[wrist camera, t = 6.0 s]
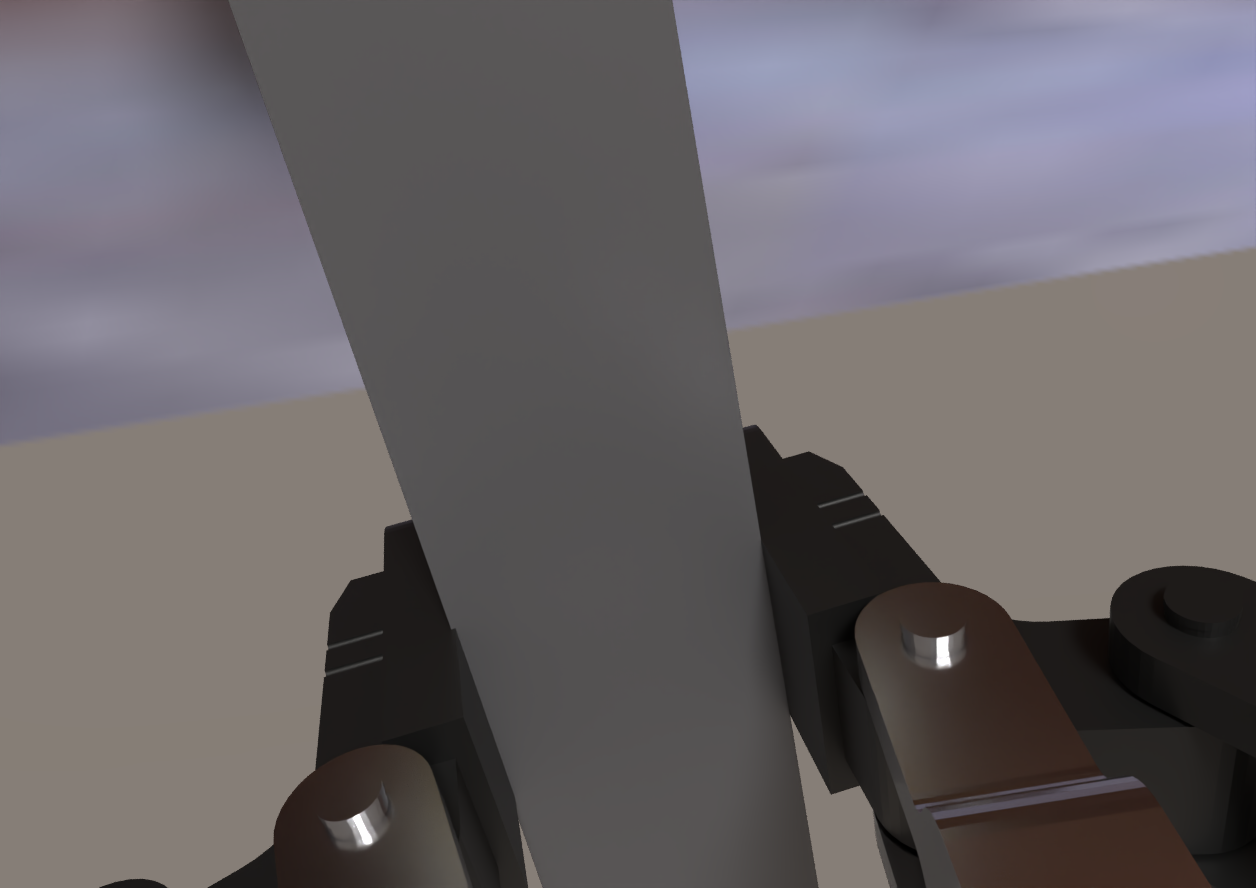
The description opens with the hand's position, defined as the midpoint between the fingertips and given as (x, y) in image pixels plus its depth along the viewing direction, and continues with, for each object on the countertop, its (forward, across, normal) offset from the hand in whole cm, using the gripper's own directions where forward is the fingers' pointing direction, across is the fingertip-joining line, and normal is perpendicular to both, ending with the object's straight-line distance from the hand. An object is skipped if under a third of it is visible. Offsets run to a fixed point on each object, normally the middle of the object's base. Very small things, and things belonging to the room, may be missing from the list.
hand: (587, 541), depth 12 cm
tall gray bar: (+2, 0, -2) cm, 2 cm away
